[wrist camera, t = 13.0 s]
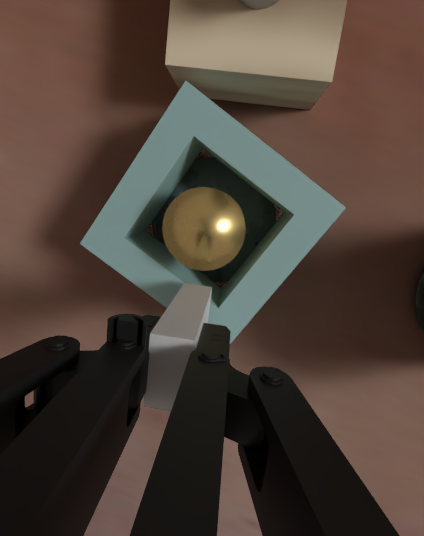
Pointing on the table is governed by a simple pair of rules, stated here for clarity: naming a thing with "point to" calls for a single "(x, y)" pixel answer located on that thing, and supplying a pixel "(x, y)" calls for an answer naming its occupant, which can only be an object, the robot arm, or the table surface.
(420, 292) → the mug
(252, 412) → the robot arm
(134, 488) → the table surface
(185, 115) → the teal square ring
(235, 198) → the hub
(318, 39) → the stand
